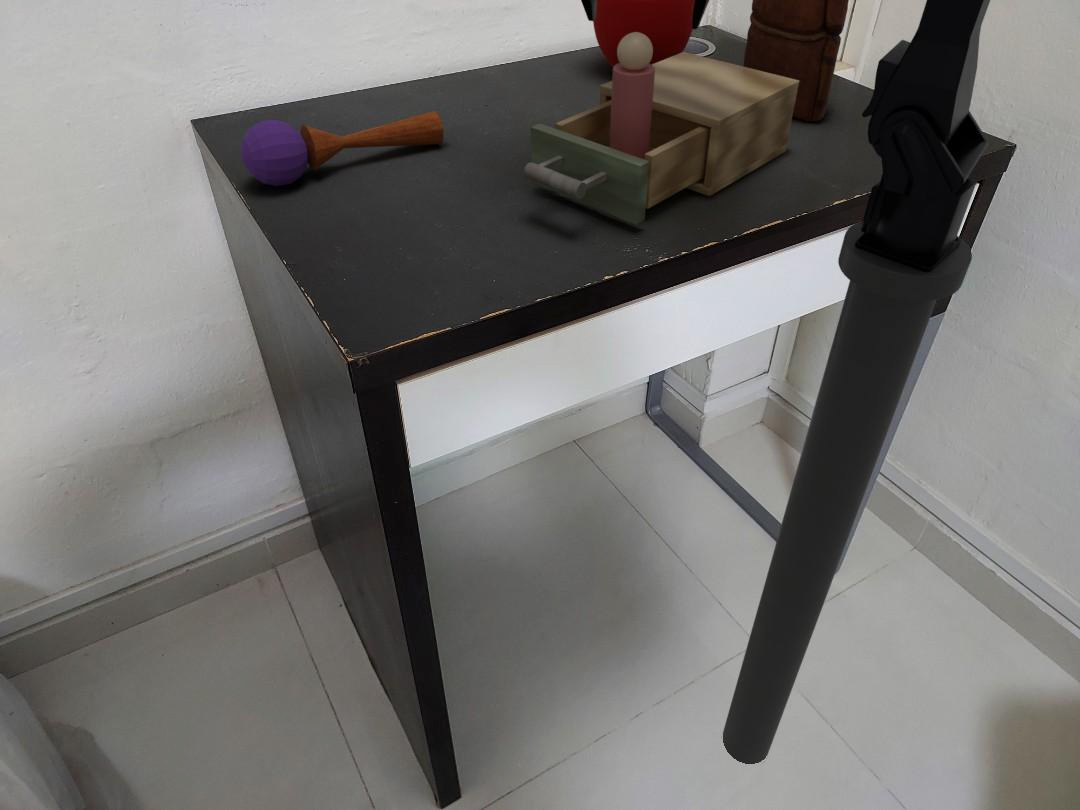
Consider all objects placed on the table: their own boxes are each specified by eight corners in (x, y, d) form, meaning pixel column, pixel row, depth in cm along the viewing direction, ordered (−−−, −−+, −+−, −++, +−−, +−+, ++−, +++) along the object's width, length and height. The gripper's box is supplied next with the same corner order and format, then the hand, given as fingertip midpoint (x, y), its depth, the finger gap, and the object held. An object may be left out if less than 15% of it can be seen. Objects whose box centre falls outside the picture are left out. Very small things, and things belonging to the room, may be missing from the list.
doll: (655, 167, 73) (666, 32, 65) (631, 180, 71) (639, 42, 64) (625, 156, 75) (632, 24, 67) (600, 168, 73) (605, 33, 65)
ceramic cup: (728, 60, 102) (740, -26, 96) (651, 95, 93) (659, 3, 86) (647, 41, 109) (653, -41, 103) (568, 72, 100) (569, -16, 93)
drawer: (604, 243, 65) (607, 182, 61) (499, 197, 71) (496, 140, 68) (719, 177, 74) (727, 121, 70) (616, 142, 80) (619, 89, 77)
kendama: (451, 114, 79) (250, 145, 70) (447, 167, 83) (257, 203, 74) (424, 86, 82) (228, 112, 73) (422, 139, 86) (237, 169, 77)
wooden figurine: (845, 112, 88) (889, -74, 76) (812, 127, 85) (853, -64, 73) (757, 86, 95) (785, -88, 83) (724, 99, 92) (749, -80, 80)
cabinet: (709, 196, 73) (719, 120, 68) (597, 156, 80) (599, 85, 75) (785, 151, 80) (799, 80, 76) (676, 118, 87) (683, 51, 83)
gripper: (798, -210, 61) (764, 8, 72) (571, -210, 66) (570, -7, 77) (780, -200, 54) (745, 43, 64) (524, -200, 59) (530, 25, 69)
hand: (642, 23), depth 68 cm, fingers open, 9 cm apart
